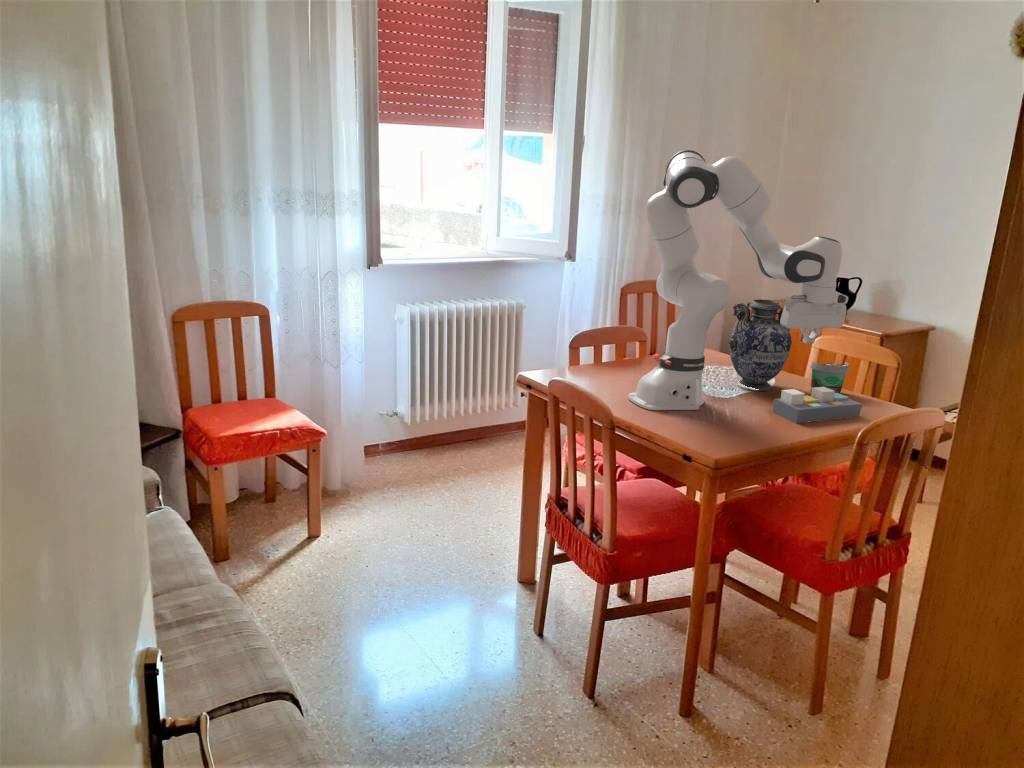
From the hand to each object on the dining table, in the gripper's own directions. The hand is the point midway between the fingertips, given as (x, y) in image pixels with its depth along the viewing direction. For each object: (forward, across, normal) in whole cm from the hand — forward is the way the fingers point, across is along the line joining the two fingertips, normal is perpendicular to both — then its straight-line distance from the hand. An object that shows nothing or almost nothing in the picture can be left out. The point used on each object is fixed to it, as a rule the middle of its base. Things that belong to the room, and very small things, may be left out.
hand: (808, 342), depth 215 cm
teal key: (+19, +12, -3) cm, 22 cm away
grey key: (+17, +6, -3) cm, 18 cm away
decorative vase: (+20, +3, +23) cm, 31 cm away
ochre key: (+19, +1, -3) cm, 19 cm away
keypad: (+20, +3, -5) cm, 21 cm away
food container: (+20, +22, +10) cm, 32 cm away
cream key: (+17, -5, -3) cm, 18 cm away
